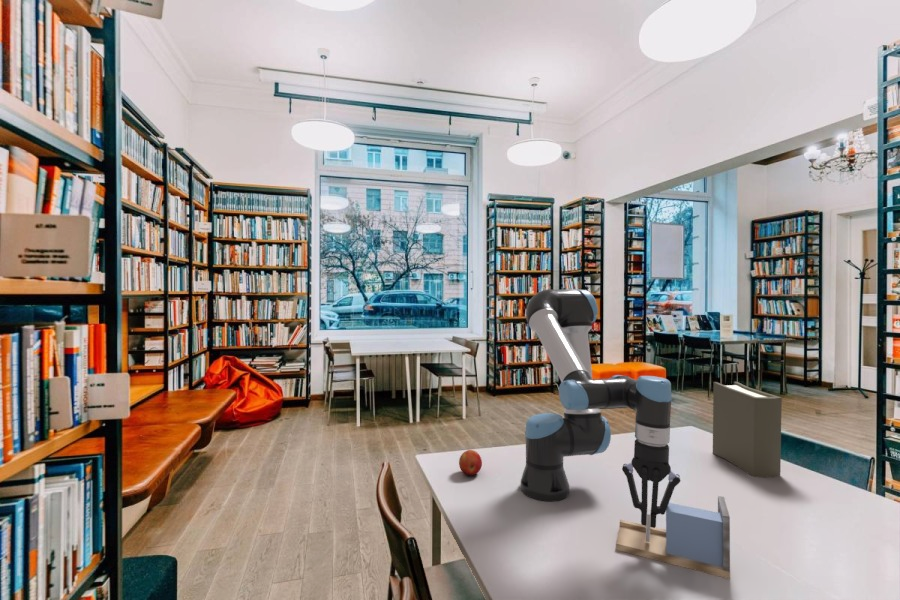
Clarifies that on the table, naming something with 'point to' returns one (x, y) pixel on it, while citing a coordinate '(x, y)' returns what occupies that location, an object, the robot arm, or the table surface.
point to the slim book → (694, 534)
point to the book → (747, 428)
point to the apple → (470, 462)
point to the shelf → (635, 543)
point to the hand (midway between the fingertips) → (647, 538)
